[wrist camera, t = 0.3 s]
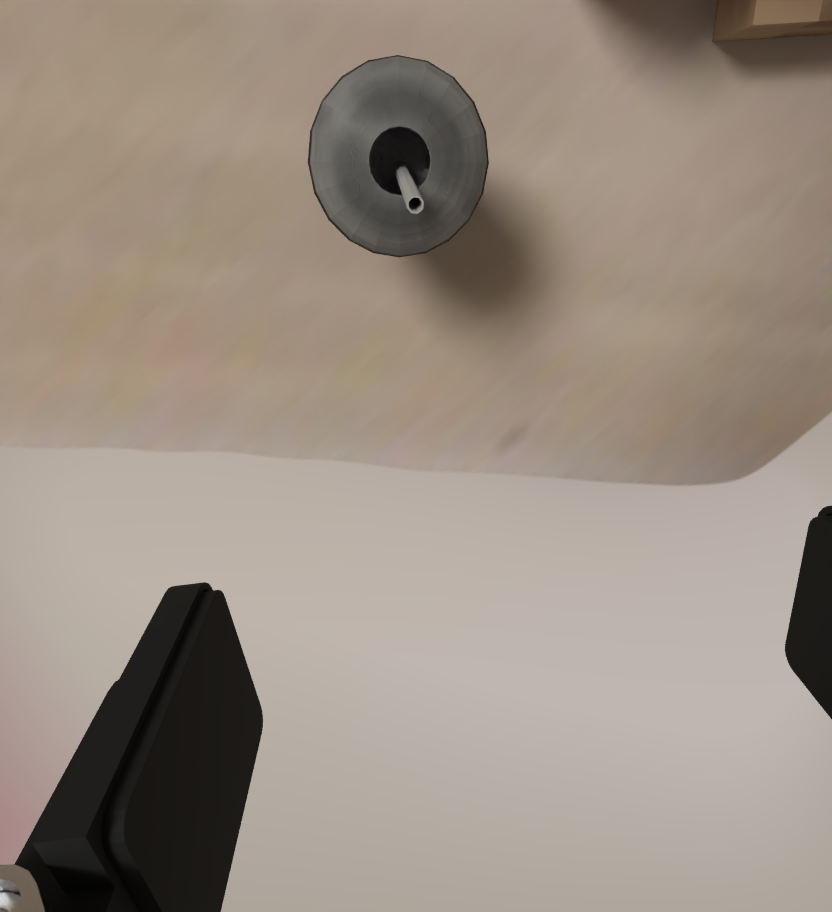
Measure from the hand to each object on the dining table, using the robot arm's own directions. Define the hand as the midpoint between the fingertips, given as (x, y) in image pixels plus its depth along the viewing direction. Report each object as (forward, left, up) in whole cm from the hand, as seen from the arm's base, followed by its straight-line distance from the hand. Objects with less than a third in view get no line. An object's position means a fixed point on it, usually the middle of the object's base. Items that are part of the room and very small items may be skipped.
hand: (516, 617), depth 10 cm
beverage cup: (-7, -1, -31) cm, 32 cm away
